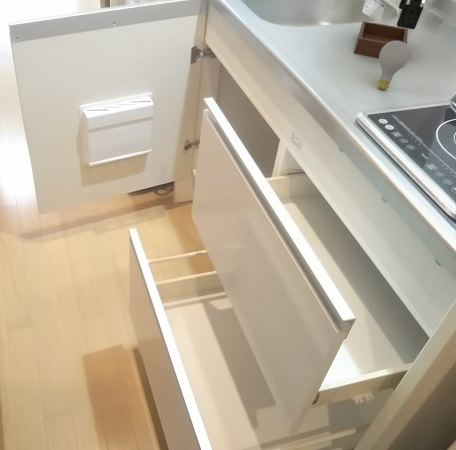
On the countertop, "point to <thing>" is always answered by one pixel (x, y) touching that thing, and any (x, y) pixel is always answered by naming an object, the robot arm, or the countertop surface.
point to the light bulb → (392, 61)
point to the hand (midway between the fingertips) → (406, 18)
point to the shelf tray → (377, 38)
